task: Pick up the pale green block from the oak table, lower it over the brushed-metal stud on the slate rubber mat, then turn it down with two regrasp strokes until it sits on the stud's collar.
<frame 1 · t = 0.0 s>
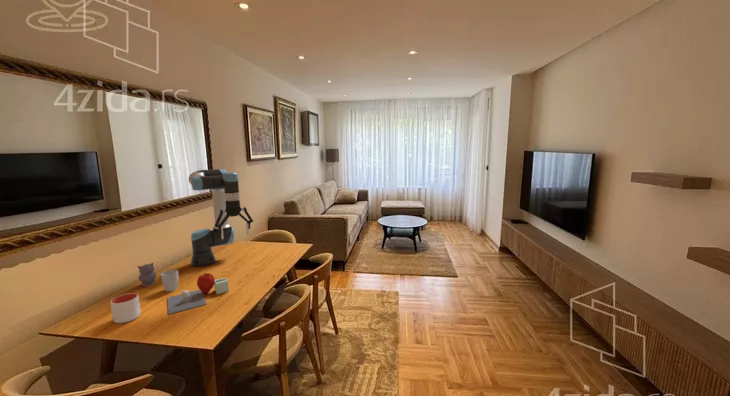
hand: (235, 236, 169), 28 cm above the table, fingers open, 13 cm apart
apple: (205, 293, 160), on the table, touching pale green block, stud mat
pale green block: (221, 290, 163), on the table, touching apple
stud mat: (186, 301, 152), on the table
cat figurine: (148, 284, 173), on the table
cup: (127, 318, 137), on the table
cup 2: (171, 289, 166), on the table
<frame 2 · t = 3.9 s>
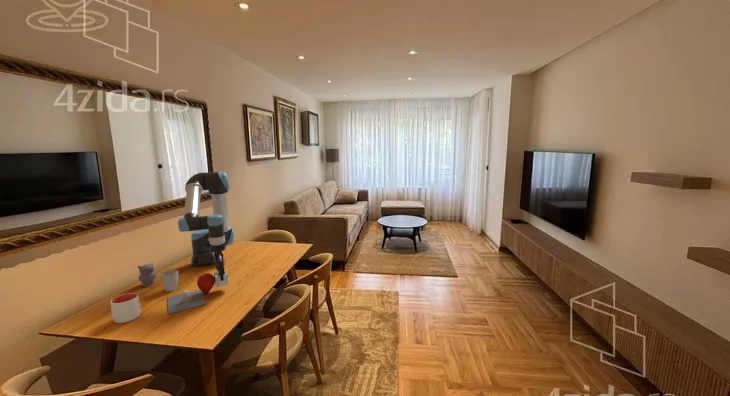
hand: (221, 283, 163), 4 cm above the table, fingers closed on pale green block, 6 cm apart
pale green block: (221, 283, 163), point 4 cm above the table, touching apple, gripper
everything else where it was.
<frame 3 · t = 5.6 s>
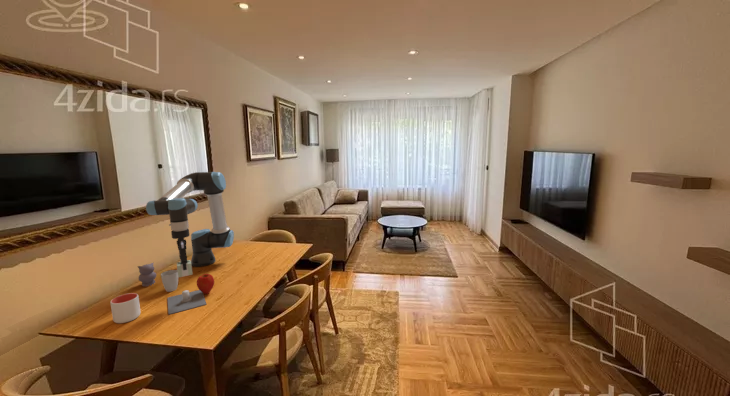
hand: (184, 273, 150), 15 cm above the table, fingers closed on pale green block, 6 cm apart
apple: (206, 293, 161), on the table
pale green block: (185, 274, 150), point 15 cm above the table, touching gripper
everything else where it was.
when the fingers open (1 cm above the table, at t = 8.1 s): pale green block stays where it is, resting on stud mat.
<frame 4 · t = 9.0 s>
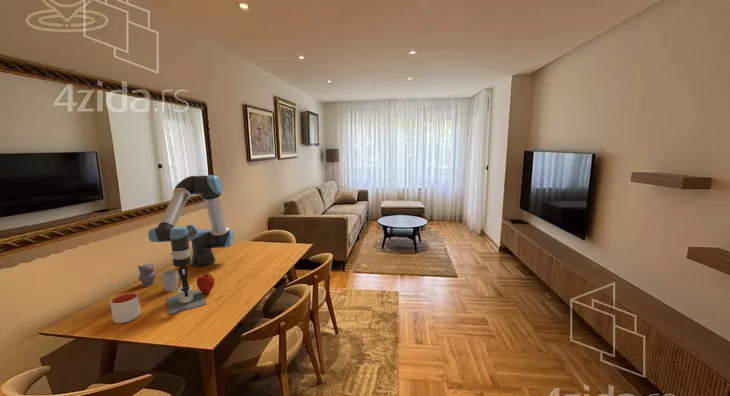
hand: (186, 296, 151), 2 cm above the table, fingers open, 13 cm apart
pale green block: (186, 299, 152), point 1 cm above the table, touching stud mat
everything else where it was.
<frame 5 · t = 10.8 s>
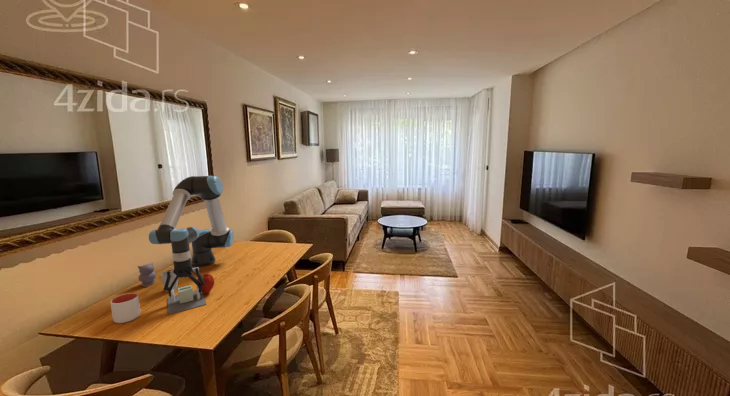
hand: (186, 300, 152), 1 cm above the table, fingers closed on stud mat, 11 cm apart
nothing on the table moved.
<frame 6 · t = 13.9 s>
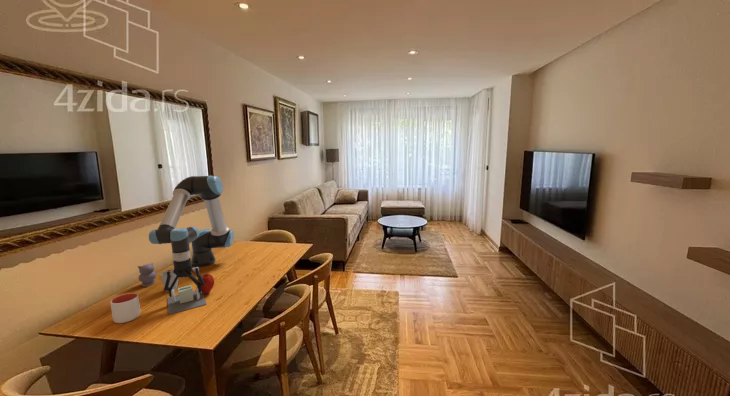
hand: (186, 300, 152), 1 cm above the table, fingers closed on stud mat, 10 cm apart
nothing on the table moved.
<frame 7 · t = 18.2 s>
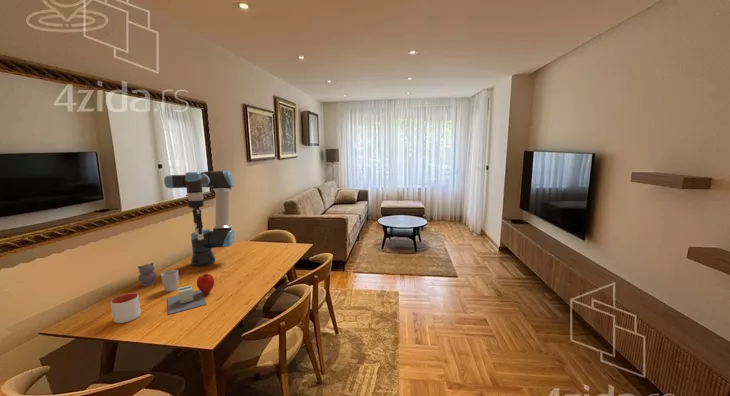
hand: (199, 236, 167), 29 cm above the table, fingers open, 13 cm apart
nothing on the table moved.
at the end: pale green block 0.1 cm off-centre on the stud mat, point 1.0 cm above the stud mat's base; pale green block tilted 0°; the gripper is holding nothing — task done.
